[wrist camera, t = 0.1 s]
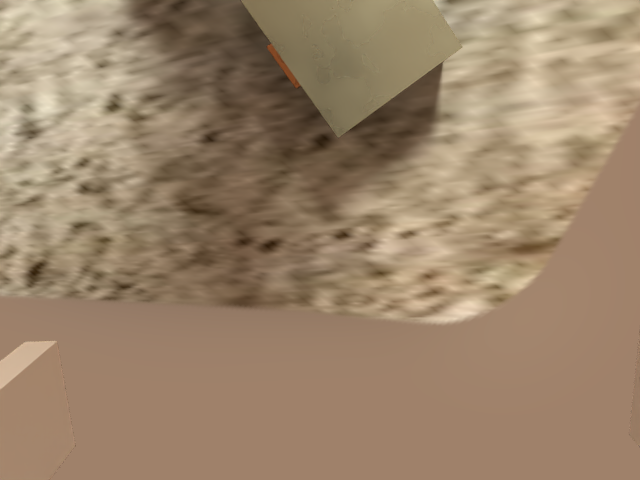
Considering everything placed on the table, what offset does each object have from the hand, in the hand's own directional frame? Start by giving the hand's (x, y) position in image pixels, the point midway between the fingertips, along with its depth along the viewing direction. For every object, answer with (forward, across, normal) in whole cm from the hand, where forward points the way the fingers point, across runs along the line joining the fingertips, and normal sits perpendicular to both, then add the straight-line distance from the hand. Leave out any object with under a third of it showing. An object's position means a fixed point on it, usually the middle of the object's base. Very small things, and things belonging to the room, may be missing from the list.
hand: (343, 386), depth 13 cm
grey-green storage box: (+29, +1, +11) cm, 31 cm away
